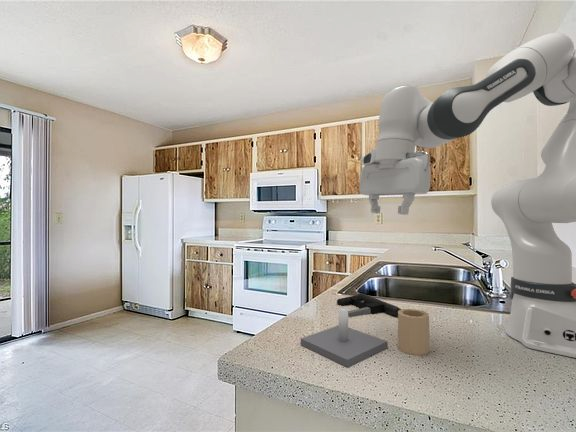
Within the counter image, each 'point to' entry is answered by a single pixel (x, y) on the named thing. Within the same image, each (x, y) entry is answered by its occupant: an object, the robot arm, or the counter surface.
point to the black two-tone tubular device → (368, 305)
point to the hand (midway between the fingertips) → (388, 213)
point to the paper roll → (413, 331)
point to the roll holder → (344, 342)
